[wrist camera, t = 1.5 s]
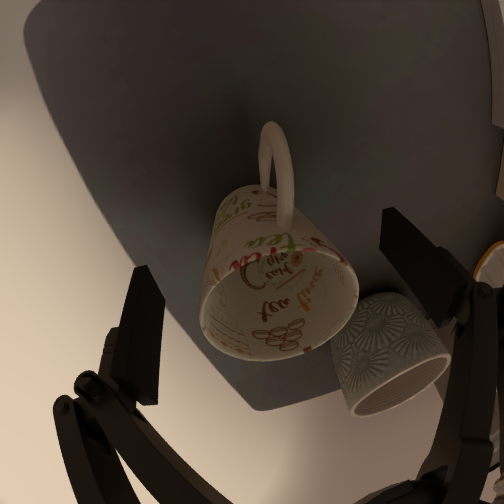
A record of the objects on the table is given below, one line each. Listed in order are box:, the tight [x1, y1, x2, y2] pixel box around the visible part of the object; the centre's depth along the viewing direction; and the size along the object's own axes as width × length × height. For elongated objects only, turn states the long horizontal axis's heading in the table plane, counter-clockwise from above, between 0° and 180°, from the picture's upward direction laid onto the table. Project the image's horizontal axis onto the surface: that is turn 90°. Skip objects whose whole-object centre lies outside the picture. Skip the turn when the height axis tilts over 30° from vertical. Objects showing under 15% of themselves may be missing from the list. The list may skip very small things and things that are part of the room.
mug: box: [199, 121, 359, 361], centre depth 16 cm, size 8×13×10 cm, turn 1°
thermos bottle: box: [427, 318, 500, 473], centre depth 27 cm, size 8×8×28 cm
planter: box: [330, 292, 451, 418], centre depth 27 cm, size 12×12×11 cm
